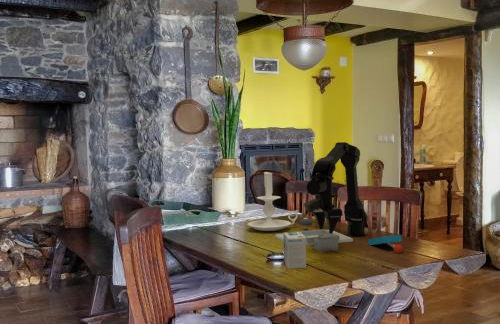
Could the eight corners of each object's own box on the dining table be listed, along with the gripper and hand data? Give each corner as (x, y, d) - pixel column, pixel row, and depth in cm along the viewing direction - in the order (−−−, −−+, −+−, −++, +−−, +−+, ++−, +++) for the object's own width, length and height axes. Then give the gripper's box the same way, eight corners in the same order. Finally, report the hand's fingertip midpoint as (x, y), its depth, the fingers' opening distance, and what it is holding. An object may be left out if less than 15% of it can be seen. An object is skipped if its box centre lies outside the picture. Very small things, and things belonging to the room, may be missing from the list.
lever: (370, 256, 223) (392, 253, 206) (367, 239, 225) (389, 235, 208) (385, 255, 225) (408, 252, 208) (382, 238, 226) (405, 233, 210)
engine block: (332, 247, 221) (332, 232, 221) (338, 250, 216) (337, 235, 216) (314, 249, 219) (313, 234, 218) (319, 252, 214) (319, 236, 213)
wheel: (309, 222, 248) (308, 216, 248) (314, 224, 242) (313, 218, 242) (297, 223, 246) (297, 217, 246) (302, 225, 241) (302, 219, 241)
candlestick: (304, 232, 254) (303, 171, 252) (252, 235, 250) (250, 174, 248) (293, 224, 274) (291, 168, 272) (244, 227, 270) (242, 170, 268)
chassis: (330, 232, 252) (330, 225, 252) (353, 241, 231) (353, 233, 230) (274, 237, 244) (274, 230, 244) (293, 247, 223) (292, 239, 223)
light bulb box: (283, 261, 200) (282, 232, 200) (301, 260, 201) (300, 231, 200) (287, 269, 190) (287, 238, 189) (307, 268, 190) (306, 237, 190)
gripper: (297, 190, 223) (297, 228, 224) (315, 196, 205) (316, 237, 206) (322, 189, 226) (323, 226, 227) (342, 194, 208) (343, 235, 209)
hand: (325, 231), depth 217 cm, fingers open, 9 cm apart
